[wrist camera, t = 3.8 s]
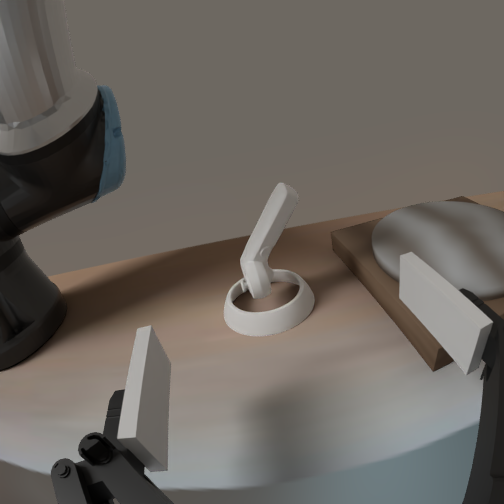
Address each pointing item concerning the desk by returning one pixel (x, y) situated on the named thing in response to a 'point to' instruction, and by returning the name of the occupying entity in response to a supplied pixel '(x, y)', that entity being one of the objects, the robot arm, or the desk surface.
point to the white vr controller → (268, 273)
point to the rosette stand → (428, 259)
